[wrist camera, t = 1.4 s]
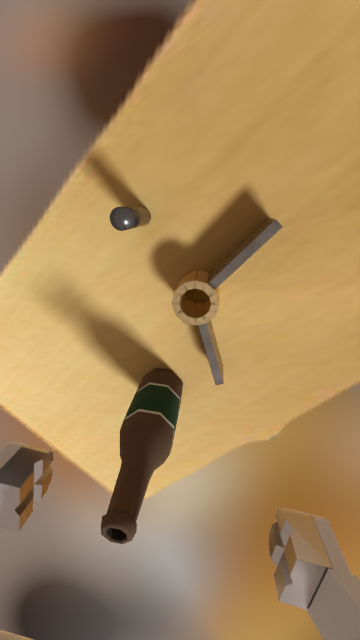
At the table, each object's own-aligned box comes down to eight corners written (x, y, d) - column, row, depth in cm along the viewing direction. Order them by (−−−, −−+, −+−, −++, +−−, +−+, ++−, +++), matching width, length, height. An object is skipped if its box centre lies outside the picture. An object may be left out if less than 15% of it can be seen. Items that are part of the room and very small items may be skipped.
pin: (141, 202, 36) (118, 201, 28) (154, 216, 37) (135, 218, 29) (130, 216, 37) (105, 219, 29) (143, 229, 38) (122, 235, 29)
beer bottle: (172, 409, 50) (136, 568, 28) (135, 390, 49) (67, 537, 27) (192, 379, 46) (168, 533, 25) (152, 359, 46) (92, 497, 24)
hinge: (256, 203, 35) (263, 203, 29) (328, 284, 37) (347, 297, 32) (152, 308, 42) (142, 323, 37) (218, 369, 45) (218, 391, 39)
